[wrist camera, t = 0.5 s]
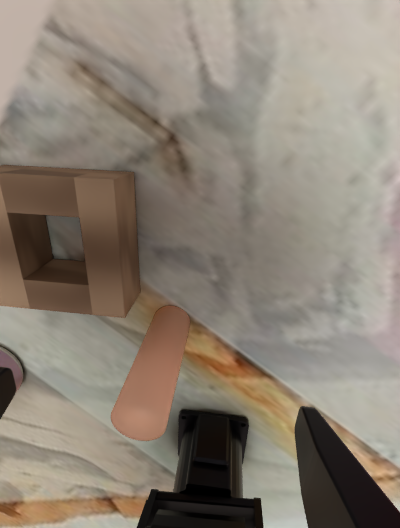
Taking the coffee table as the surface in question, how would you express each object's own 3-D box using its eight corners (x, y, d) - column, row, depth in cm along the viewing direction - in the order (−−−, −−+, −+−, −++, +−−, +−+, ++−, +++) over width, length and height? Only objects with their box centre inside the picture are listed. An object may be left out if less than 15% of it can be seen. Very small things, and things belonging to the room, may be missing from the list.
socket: (140, 292, 23) (124, 317, 19) (31, 282, 23) (-1, 305, 20) (133, 172, 19) (113, 179, 16) (4, 165, 20) (-40, 170, 16)
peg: (189, 338, 24) (166, 443, 16) (154, 334, 24) (113, 436, 16) (190, 307, 23) (166, 405, 14) (153, 304, 23) (108, 397, 15)
